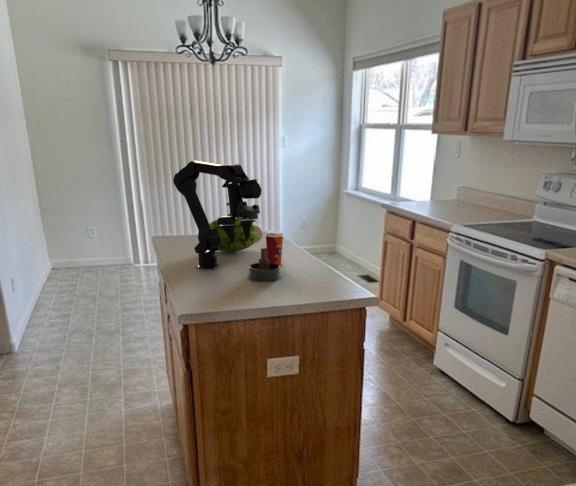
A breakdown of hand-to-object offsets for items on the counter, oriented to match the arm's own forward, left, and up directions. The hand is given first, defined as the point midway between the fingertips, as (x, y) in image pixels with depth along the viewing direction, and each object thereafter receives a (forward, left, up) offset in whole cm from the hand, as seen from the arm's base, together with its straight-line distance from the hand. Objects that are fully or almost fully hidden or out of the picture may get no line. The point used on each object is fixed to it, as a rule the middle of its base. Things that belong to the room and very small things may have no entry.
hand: (240, 240), depth 205 cm
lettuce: (-17, +36, -13) cm, 42 cm away
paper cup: (+8, +17, -13) cm, 23 cm away
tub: (+10, -2, -13) cm, 17 cm away
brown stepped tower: (+10, -2, -13) cm, 16 cm away
